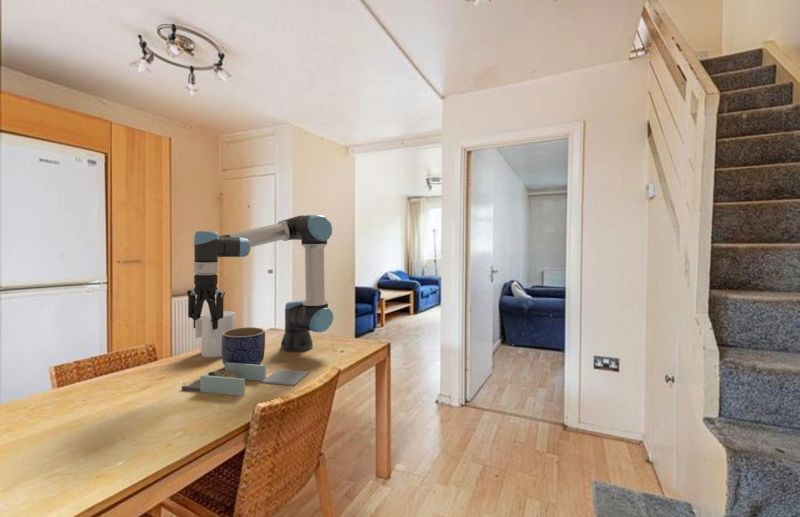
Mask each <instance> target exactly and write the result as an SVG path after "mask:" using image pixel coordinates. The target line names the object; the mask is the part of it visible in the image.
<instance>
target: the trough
mask: <svg viewBox="0 0 800 517" xmlns="http://www.w3.org/2000/svg"><path fill="white" fill-rule="evenodd" d="M224 370H226V371H232V372H234V373H235V374H236V375H237V378H230V377H219V376H214V373H215V372H216V371H209V372H208V374H207V375H206V374H201V375H200V376H199V379H198V380H196V381H194V382H192V383H190V384H188V385H182V386H181V391H187V392H189V391H190V392H197V393H198V392H200V393H209V394H220V395H232V396H240V397H241V396H242V397H244V396H245V395H246V393H245V392H246V380H252V381H261V382H262V380H264V379H265V378H267V377H266V375H267V374H266V373H267V365H264V364H260V365H254V364H242V363H230V362H226V363H225V366H224Z"/></svg>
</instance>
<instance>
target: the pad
mask: <svg viewBox="0 0 800 517" xmlns="http://www.w3.org/2000/svg"><path fill="white" fill-rule="evenodd" d="M309 373H310V372H309V371H302V370H289V369H278V368H277V369H276V370H275V371H274V372H273V373H271V374H269V375H268V376H267V377H266V378H265V379H264V380H262V381H261V383H262V384H271V385H272V384H273V385H283V386H292V387H293V386H297V385H298V383H300V382H301V381H302V380H303V379H304V378H306V377H307V375H309Z"/></svg>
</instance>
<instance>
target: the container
mask: <svg viewBox="0 0 800 517" xmlns="http://www.w3.org/2000/svg"><path fill="white" fill-rule="evenodd" d="M200 317H201V318H200V319H202V337H200V338H201V339H200V345H201V346H200V348H201V349H200V354H201V356H202V357H205V358H220V357H221V358H222V354H221V336H222V333H223V332H224V331H226V330H230V329H235V328H237V312H236V311H230V310H223V318H221V319H219V320H218V328H217V329H216V338H213V339H209V321H210V320H212V319H211V315H210V311H208V312H204V313H201V316H200Z"/></svg>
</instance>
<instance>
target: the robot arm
mask: <svg viewBox="0 0 800 517" xmlns="http://www.w3.org/2000/svg"><path fill="white" fill-rule="evenodd" d="M332 234H333V226H332V223H331V221H330V220H329V219H328V218H327V217H326V216H324V215H321V214H310V215H309V214H307V215H296V216H293V217H290V218H287V219H283V220H282V219H281V220H279V221H278V222H277V223H275V224H269V225H265V226H260V227H257V228H256V227H255V228H251V229H246V230H242V231H237V232H233V233H228V234H223V235H219V233H218V231H215V230H214V231H210V230H197V231H195V233H194V239H193V248H194V252H193V254H194V255H193V256H194V262H193V263H194V264H193V265H194V266H193V268H194V269H193V271H194V272H193V273H195V274H194V275H193V284H194V287H193V288H194V289H189V290H186V293H187V298H188V299H187V300H188V301H187V302H188V303H187V306H188V307H187V308H188V310H187V316H188V317H187V318H189V319H192V320H193V329H195V330H194V339H198V338H201V337H202V319H201V315H202V311H203V307H204V302H205V301H206V303H207V305H208V309H209V312H210V315H211V319H212V320H210V321H209V339H213V338H216V329H217V328H218V320H219V319H221V318H223V311H224V297H225V293H226V292H225V291H224V290H223V291H221V290H218V286H217V285H218V281H219V280H218V274H217V273H218V272H219V271H218V270H219V267H218V260H219V259H218V258H243V257H244V258H245V257H247V256H248V255H249V254H250V252H251V248H254V247H257V246H262V245H267V244H269V243H274V242H278V241H283V242H287V241H293V240H294V241H296V240H298V241H299V240H300V241H301V246H302V247H304V260H305V261H304V262H305V263H304V265H305V266H304V267H305V268H304V271H305V275H304V276H305V300H295V301H294V300H293V301H287V303H285V307H284V308H285V309H284V333H283V337H282V340H281V342H280V349H281V351H285V352H290V353H292V352H293V353H294V352H295V353H297V352H305V351H308V350H311V349H312V348H313V347H314V344H313V338H312V336H311V333H310V331H311V332H314V333H324V332H326V331H327V330H328V329H330V327H331V326H332V324H333V322H334V321H333V320H334V312H333V311H332V309H330V308H329V302H328V300H327V299H326V296H325V294H326V293H325V291H326V290H325V247H326V246H327V245H328V240H329V239H330V238H331V236H332Z"/></svg>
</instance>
